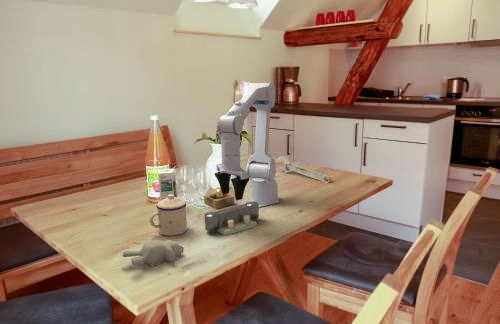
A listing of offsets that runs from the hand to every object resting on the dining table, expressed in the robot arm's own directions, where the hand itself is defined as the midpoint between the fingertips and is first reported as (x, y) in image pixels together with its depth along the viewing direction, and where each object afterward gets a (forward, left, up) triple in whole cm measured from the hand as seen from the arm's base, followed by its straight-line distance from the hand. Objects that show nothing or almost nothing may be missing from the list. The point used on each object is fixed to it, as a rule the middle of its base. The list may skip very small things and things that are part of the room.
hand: (232, 196), depth 126 cm
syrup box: (+9, -28, -10) cm, 31 cm away
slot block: (-8, -21, -10) cm, 25 cm away
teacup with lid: (+18, -9, -10) cm, 23 cm away
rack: (0, 0, -10) cm, 10 cm away
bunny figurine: (+29, +7, -10) cm, 32 cm away
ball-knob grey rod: (0, 0, -9) cm, 9 cm away
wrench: (-58, -28, -10) cm, 65 cm away
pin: (-8, -21, -10) cm, 24 cm away
